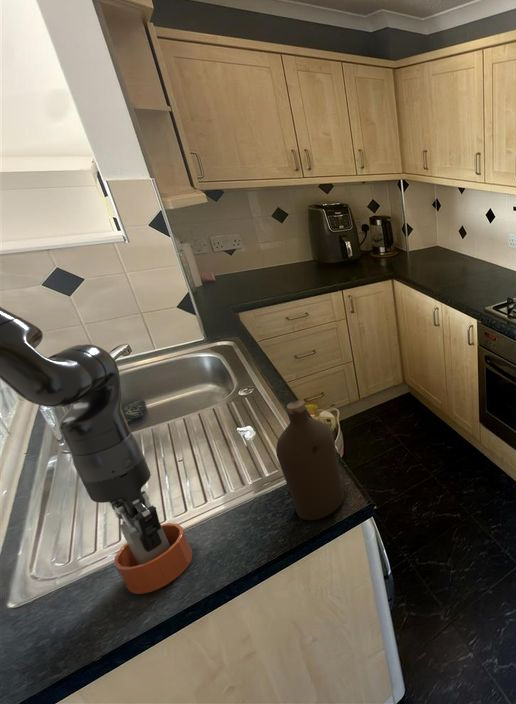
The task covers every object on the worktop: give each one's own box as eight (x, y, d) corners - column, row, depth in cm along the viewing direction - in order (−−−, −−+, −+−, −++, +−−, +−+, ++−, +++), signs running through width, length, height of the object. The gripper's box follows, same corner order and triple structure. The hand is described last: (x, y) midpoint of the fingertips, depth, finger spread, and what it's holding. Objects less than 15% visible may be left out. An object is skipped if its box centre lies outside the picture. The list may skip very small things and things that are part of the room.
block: (149, 577, 71) (129, 534, 68) (139, 567, 73) (118, 525, 70) (175, 559, 74) (157, 517, 71) (165, 550, 76) (147, 509, 73)
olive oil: (356, 488, 92) (335, 392, 83) (327, 526, 82) (300, 422, 73) (315, 482, 94) (290, 388, 85) (282, 519, 84) (250, 417, 75)
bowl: (141, 603, 68) (128, 578, 66) (117, 579, 73) (104, 555, 70) (202, 558, 76) (192, 535, 74) (177, 539, 80) (167, 516, 78)
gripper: (64, 464, 66) (103, 542, 72) (100, 494, 60) (140, 577, 66) (122, 439, 72) (154, 512, 78) (160, 463, 66) (192, 541, 72)
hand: (147, 541), depth 72 cm, fingers closed on block, 4 cm apart
